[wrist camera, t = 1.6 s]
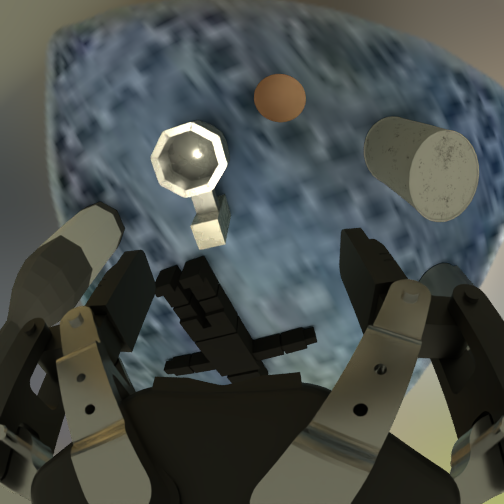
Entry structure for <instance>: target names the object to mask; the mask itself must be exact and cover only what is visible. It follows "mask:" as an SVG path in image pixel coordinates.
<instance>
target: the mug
mask: <svg viewBox="0 0 504 504" xmlns="http://www.w3.org/2000/svg"><path fill="white" fill-rule="evenodd" d="M229 160H230V156H229V152H228V145H227V142H226V139H225V137H224V135H223V133H222V132H221V131H219V130H218V129H217V128H216V127H214V126H213V125H210V124H208V123H205V122H202V121H200V120H195V121H192V122H189V123H186V124H183V125H180V126H177V127H174V128H171V129H168V130H166V131H164V132H162V134H161V136H160V138H159V140H158V142H157V145H156V147H155V149H154V151H153V153H152V155H151V161H152V164H153V167H154V170H155V173H156V176H157V179H158V182H159V184H160V185H161V186H163V187H165V188H167V189H169V190H171V191H173V192H174V193H176V194H178V195H180V196H182V197H185V198H187V197H190V196H191V198H192V201H193V204H194V207H195V209H196V212H197V213H196V215H195V217H194V220H193V222H192V224H191V229H192V231H193V234H194V237H195V239H196V242H197V245H198V247H199V250H201V249H205V248H210V247H215V246H219V245H224V244H226V239H227V233H228V228H229V223H230V218H231V213H230V210H229V206H228V203H227V199H226V196H225V194H224V195H220V196H217V195H216V192H215V189H214V187H215V185H216V184H217V182H218V180H219V179H220V177H221V175H222V174H223V172H224V170H225V169H226V167H227V165H228V162H229Z"/></svg>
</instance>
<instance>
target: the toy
mask: <svg viewBox="0 0 504 504" xmlns="http://www.w3.org/2000/svg"><path fill="white" fill-rule="evenodd" d="M155 286H156V290H155V295H156V296H157V297H161V296H164V297H165V299H166V300H167V302H168V303H169V304H170V306H171V307H174V308H173V310H174V311H175V313H176V314H177V316H178V317H179V318H180V324H181V326H182V327H183V328H184V330H185V331H186V332H187V334H188V335H189V336H190V338H191V339H192V340H193V341H194V342H195V344H196V345H197V347H198V348H199V349H200V350H201V352H200V353H195V354H192V356H191V354H190V355H185V356H179V357H174V358H173V359H172V361H166V364H165V367H164V371H165V372H166V373H167V374H175V375H176V376H178V375H185V374H192V373H194V372H195V373H198V372H204V371H210V370H215V369H216V370H217V371H218V372H219V374H220V375H221V376H227V378H228V379H229V380H230V382H231V383H232V384H233V383H237V382H241V381H244V380H248V379H252V378H256V377H259V376H263V375H268V371H267V369H266V368H265V366H264V364H263V363H262V361H261V360H263V359H268V358H272V357H276V356H280V355H284V351H285V353H286V354H288V353H292V352H295V351H299V350H303V349H306V348H307V345H309V344H313V343H316V342H317V339H316V334H315V331H314V328H313V327H312V328H309V329H306V330H303V329H302V328H298V329H295V330H291V331H287V332H284V333H281V337H280V335H279V334H276V335H273V336H269V337H265V338H261V339H257V340H253V339H252V338H251V336H250V334H249V333H248V331H247V329H246V328H245V326H244V324H243V323H242V321H241V319H240V318H239V316H237V312H236V311H235V309H234V307H233V305H232V304H231V302H230V300H229V299H228V297H227V295H226V294H225V293H224V291H223V289H222V287H221V286H220V284H218V280H217V279H216V277H215V275H214V273H213V271H212V270H211V268H210V266H209V264H208V262H207V261H206V259H205V257H204V256H202V257H199V258H196V259H193V260H191V261H188V262H186V263H185V265H184V268H183V271H182V273H181V271H180V270H179V268H178V266H177V265H176V266H173V267H171V268H168V269H165V270H162V271H160V273H159V275H158V277H157V279H156V282H155Z"/></svg>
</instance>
